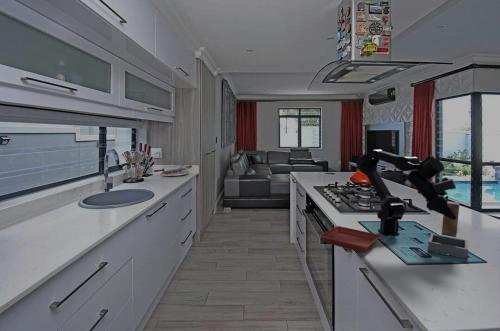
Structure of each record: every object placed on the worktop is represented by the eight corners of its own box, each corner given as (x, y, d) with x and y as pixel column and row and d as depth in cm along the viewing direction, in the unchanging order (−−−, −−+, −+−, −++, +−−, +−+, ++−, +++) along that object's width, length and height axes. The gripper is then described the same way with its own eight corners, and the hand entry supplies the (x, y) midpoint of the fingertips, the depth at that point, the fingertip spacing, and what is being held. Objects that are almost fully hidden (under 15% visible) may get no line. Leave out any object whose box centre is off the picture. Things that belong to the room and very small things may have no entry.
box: (427, 251, 107) (428, 241, 106) (430, 242, 116) (431, 233, 116) (467, 259, 100) (468, 249, 99) (466, 249, 109) (467, 240, 109)
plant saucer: (337, 232, 127) (337, 225, 127) (381, 242, 116) (381, 234, 115) (318, 243, 113) (319, 235, 113) (366, 256, 102) (366, 247, 101)
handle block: (441, 234, 107) (444, 202, 106) (442, 231, 110) (444, 200, 109) (456, 237, 104) (459, 204, 103) (456, 234, 108) (459, 202, 107)
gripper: (440, 173, 100) (477, 209, 95) (442, 168, 115) (475, 200, 110) (412, 192, 105) (446, 228, 100) (418, 186, 120) (448, 217, 115)
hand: (455, 217), depth 106 cm, fingers closed on handle block, 4 cm apart
